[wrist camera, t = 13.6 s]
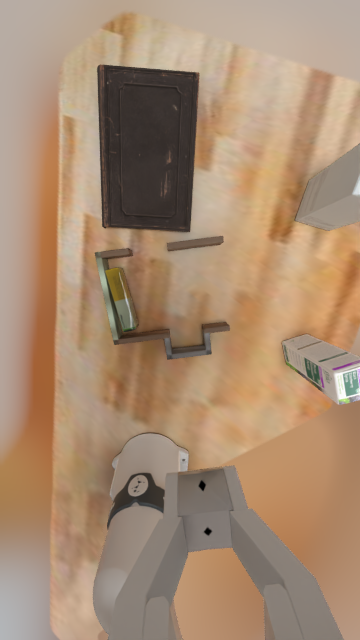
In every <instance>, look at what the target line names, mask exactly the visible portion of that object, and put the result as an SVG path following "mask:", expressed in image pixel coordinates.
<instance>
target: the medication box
mask: <svg viewBox="0 0 360 640" xmlns="http://www.w3.org/2000/svg"><path fill="white" fill-rule="evenodd" d="M105 272H106V275H107V279H108V282H109V285H110V289H111V292H112V295H113V299H114V302H115V305H116V309H117V312H118V315H119V319H120V322H121V325H122V329H123V332H128V331H132V330H135V329H136V328H137V327H138V325H139V324H138V321H137V317H136V313H135V310H134V306H133V303H132V299H131V295H130V292H129V288H128V285H127V281H126V277H125V274H124V271H123V269H121V268H112V269H109V270H106V271H105Z"/></svg>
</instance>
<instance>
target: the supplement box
mask: <svg viewBox="0 0 360 640" xmlns="http://www.w3.org/2000/svg"><path fill="white" fill-rule="evenodd" d="M295 221H298V222H301V223H304V224H307V225H311V226H314V227H317V228H321V229H324V230H328V231H330V230H333V229H336V228H340V227H343V226H346V225H350V224H353V223H356V222H359V221H360V144H358V145H357V146H356V147H354V148H353V149H351V150H350V151H349V152H347V153H346V154H345V155H343V156H342V157H340V158H339V159H338V160H336V161H335V162H334V163H332V164H331V165H330V166H328V167H327V168H325V169H324V170H323V171H321V172H320V173H319V174H317V175H316V176H314V177H313V178H312V179H310V180H309V182H308V185H307V188H306V190H305V193H304V196H303V199H302V202H301V205H300V207H299V210H298V213H297V216H296V219H295Z"/></svg>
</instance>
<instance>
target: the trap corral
mask: <svg viewBox="0 0 360 640" xmlns="http://www.w3.org/2000/svg"><path fill="white" fill-rule="evenodd" d="M223 242H224V241H223V236H219V237H211V238H203V239H196V240H188V241H180V242H173V243H167V247H168V251H174V250H181V249H189V248H197V247H205V246H212V245H220V244H221V243H223ZM95 256H96V261H97V266H98V271H99V275H100V280H101V285H102V289H103V294H104V299H105V304H106V308H107V313H108V318H109V322H110V327H111V332H112V337H113V341H114V345H117V344H125V343H133V342H141V341H149V340H157V339H164V340H165V347H166V353H167V360H168V359H177V358H185V357H193V356H201V355H209V354H211V343H210V333H214V332H222V331H230V327H229V325H228V324H227V323H226V322H222V323H214V324H206V325H202V329H203V339H204V345H200V346H192V347H184V348H176V349H172V345H171V338H170V331H169V329H166V330H158V331H150V332H142V333H134V334H126V335H122V330H121V325H120V320H119V315H118V312H117V309H116V305H115V302H114V299H113V295H112V292H111V289H110V285H109V282H108V279H107V275H106V272H105V271H106V270H109V265H108V260H107V259H112V258H120V257H127V256H133V255H132V250H130V249H128V248H127V249H119V250H111V251H104V252H96V253H95Z"/></svg>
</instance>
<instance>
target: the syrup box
mask: <svg viewBox="0 0 360 640" xmlns="http://www.w3.org/2000/svg"><path fill="white" fill-rule="evenodd" d="M282 345H283V350H284V355H285V359H286V364H287V365H288V366H290V367H291V368H292V369H293V370H295V371H296V372H297V373H299V374H300V375H301V376H302V377H304V378H305V379H306V380H308V381H309V382H310V383H311V384H313V385H314V386H315V387H317V388H318V389H319V390H320V391H322V392H323V393H324V394H326V395H327V396H328V397H329V398H331V399H332V400H333V401H335V402H336V403H337V404H345V403H349V402H353V401H357V400H360V356H357V355H355V354H353V353H350V352H348V351H346V350H343V349H341V348H339V347H336V346H334V345H332V344H329V343H327V342H325V341H322V340H320V339H317V338H315V337H313V336H311V335H308V334H305V335H301V336H298V337H295V338H292V339H288V340H285V341H282Z"/></svg>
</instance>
